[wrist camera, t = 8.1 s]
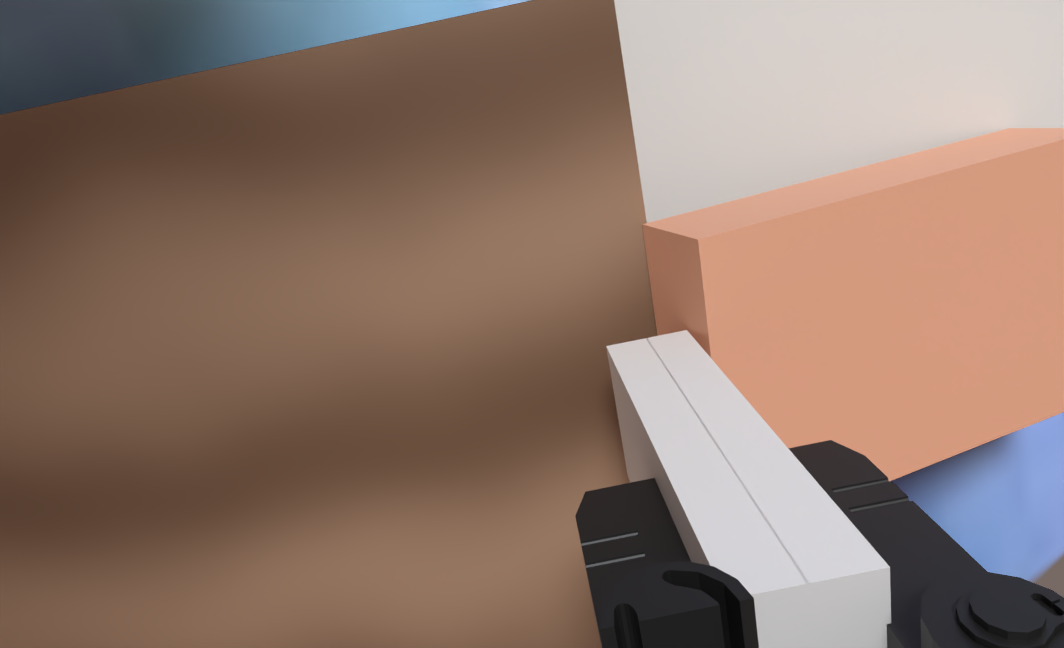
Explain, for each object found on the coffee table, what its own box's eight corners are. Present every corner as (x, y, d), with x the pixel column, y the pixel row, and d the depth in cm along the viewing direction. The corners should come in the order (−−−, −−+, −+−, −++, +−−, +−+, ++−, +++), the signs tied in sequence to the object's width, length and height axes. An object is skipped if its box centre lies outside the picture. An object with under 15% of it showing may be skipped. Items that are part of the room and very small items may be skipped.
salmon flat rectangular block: (679, 493, 15) (731, 543, 13) (642, 224, 13) (697, 240, 11) (998, 374, 17) (1082, 404, 15) (1008, 128, 15) (1106, 127, 13)
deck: (-173, 165, 14) (-307, 180, 12) (590, 2, 14) (611, -17, 12) (103, 679, 19) (47, 765, 16) (677, 558, 18) (705, 626, 16)
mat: (590, 2, 14) (592, 0, 14) (1214, -132, 14) (1230, -137, 14) (657, 429, 17) (660, 435, 17) (1163, 322, 17) (1175, 326, 17)
